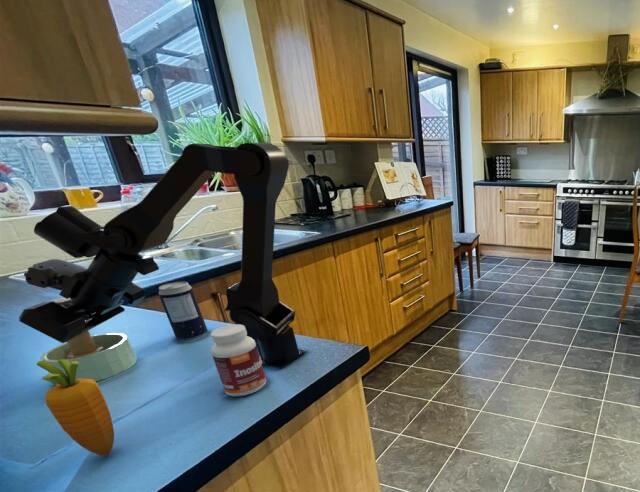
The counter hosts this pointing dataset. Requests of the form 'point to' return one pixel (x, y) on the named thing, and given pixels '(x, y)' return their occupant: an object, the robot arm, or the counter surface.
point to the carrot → (79, 407)
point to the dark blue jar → (182, 310)
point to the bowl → (97, 357)
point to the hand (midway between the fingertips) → (69, 337)
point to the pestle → (80, 340)
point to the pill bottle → (237, 360)
